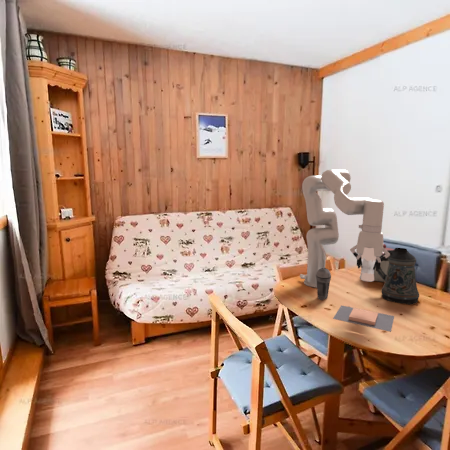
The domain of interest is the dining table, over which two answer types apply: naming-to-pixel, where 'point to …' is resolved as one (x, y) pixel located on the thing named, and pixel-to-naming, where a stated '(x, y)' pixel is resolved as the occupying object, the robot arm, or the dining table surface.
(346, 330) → the dining table surface
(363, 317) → the tile
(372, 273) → the beer glass
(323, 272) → the beverage cup
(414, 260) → the beer stein
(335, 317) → the mat
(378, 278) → the canister
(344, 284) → the dining table surface
